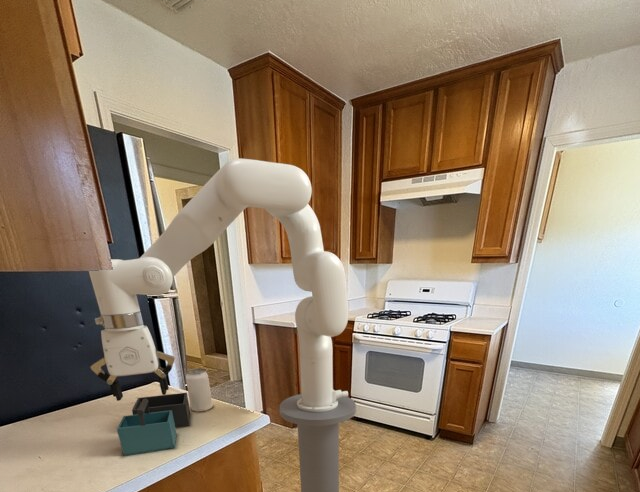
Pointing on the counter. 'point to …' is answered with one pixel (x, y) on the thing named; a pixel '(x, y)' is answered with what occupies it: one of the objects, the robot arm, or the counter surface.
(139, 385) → the counter surface
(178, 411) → the lower bin
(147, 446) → the top bin
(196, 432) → the counter surface
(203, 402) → the can
